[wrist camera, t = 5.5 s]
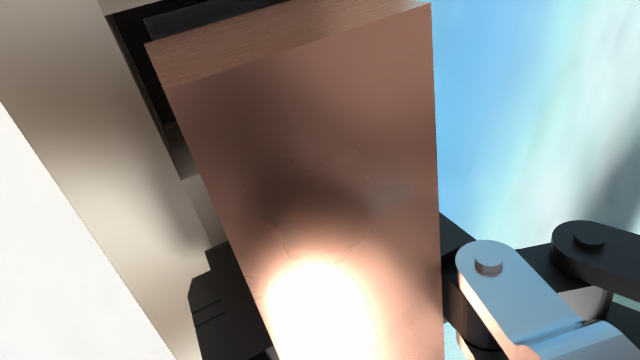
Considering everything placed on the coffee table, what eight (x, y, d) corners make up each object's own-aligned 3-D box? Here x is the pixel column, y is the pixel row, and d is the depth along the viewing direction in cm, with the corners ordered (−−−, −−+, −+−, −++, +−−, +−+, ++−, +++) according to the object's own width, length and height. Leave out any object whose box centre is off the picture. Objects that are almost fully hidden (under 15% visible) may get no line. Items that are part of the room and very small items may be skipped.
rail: (-98, -160, 8) (-230, -235, 5) (308, -217, 11) (395, -294, 7) (297, 502, 28) (321, 573, 25) (407, 430, 30) (442, 486, 27)
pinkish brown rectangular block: (129, 10, 11) (163, 91, 4) (247, -22, 12) (431, 2, 5) (252, 296, 18) (343, 505, 11) (323, 261, 19) (447, 434, 12)
